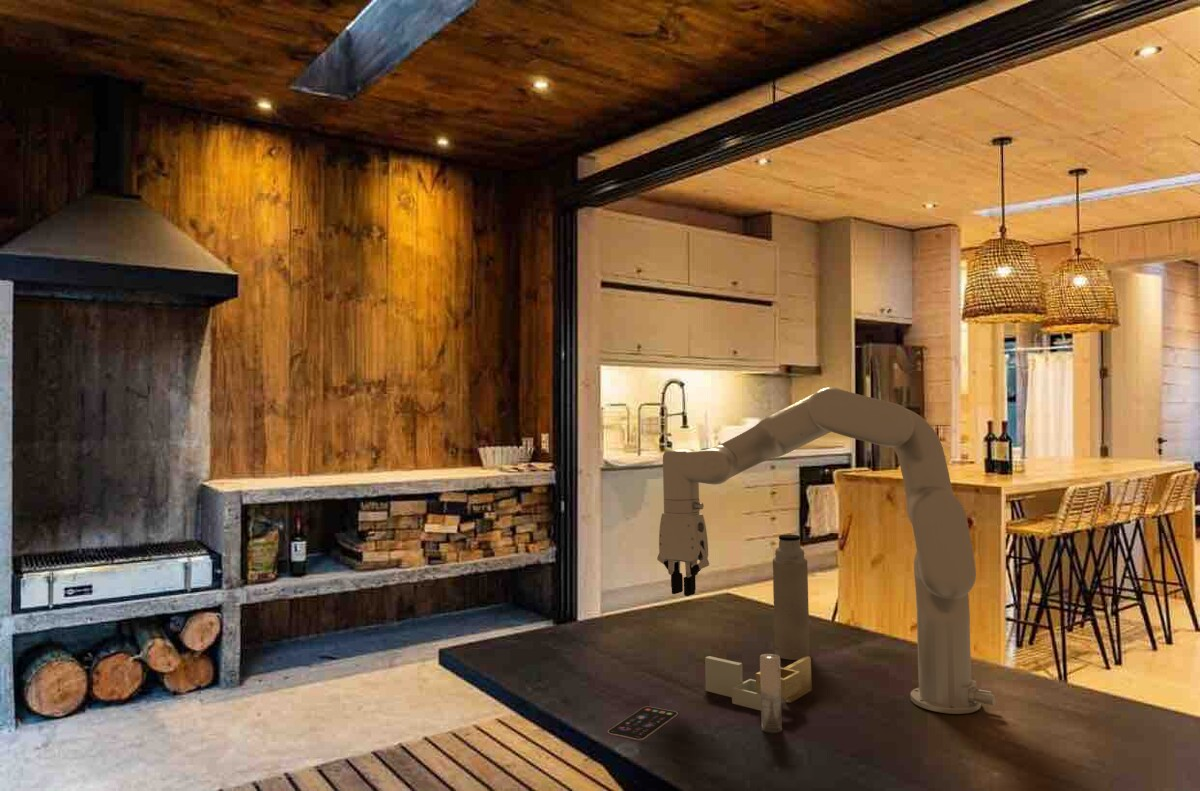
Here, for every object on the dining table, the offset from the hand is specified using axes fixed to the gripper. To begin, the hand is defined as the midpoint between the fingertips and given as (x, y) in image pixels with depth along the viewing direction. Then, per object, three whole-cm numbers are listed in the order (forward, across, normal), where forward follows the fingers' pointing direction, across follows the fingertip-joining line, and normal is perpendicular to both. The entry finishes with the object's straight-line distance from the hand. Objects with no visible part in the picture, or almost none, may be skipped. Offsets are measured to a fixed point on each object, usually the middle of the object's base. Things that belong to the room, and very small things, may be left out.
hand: (683, 593), depth 171 cm
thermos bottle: (+19, -8, -32) cm, 38 cm away
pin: (+19, -26, +10) cm, 34 cm away
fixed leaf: (+19, -22, -5) cm, 30 cm away
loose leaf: (+19, -13, 0) cm, 23 cm away
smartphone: (+20, -6, +22) cm, 30 cm away
